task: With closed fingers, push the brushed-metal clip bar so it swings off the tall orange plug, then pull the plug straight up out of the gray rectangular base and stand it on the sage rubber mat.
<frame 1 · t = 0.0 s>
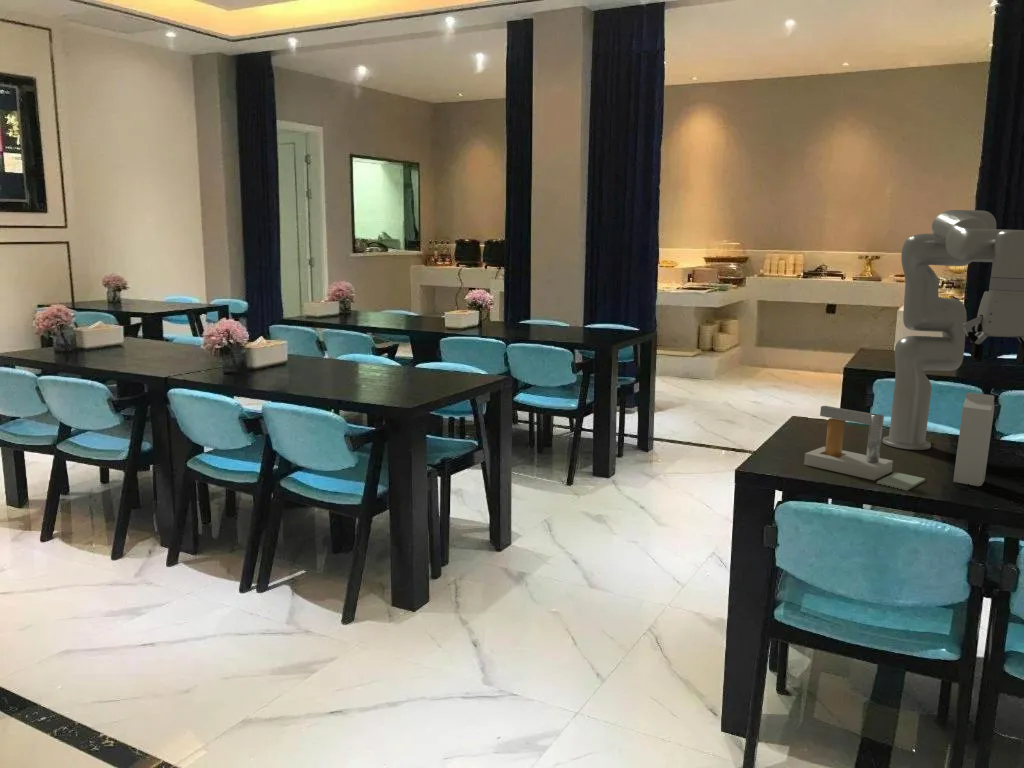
hand: (998, 361, 183), 31 cm above the table, tool pointing down, fingers open, 9 cm apart
mat: (900, 482, 196), on the table
gray rectangular base: (847, 468, 207), on the table
plug: (832, 464, 210), resting in gray rectangular base
clip: (849, 433, 206), point 9 cm above the table, hinge at 0.0°
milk: (968, 482, 198), on the table
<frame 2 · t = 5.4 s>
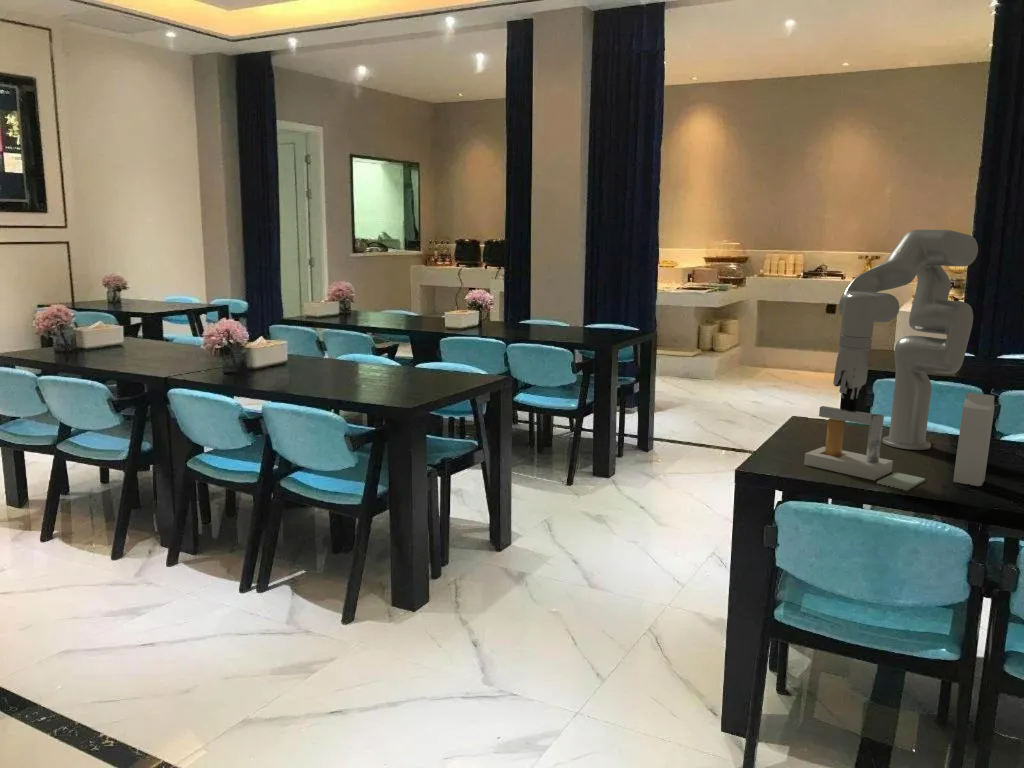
hand: (848, 413, 208), 14 cm above the table, tool pointing down, fingers closed
clip: (849, 433, 206), point 9 cm above the table, hinge at 3.4°, touching gripper
everything else where it was.
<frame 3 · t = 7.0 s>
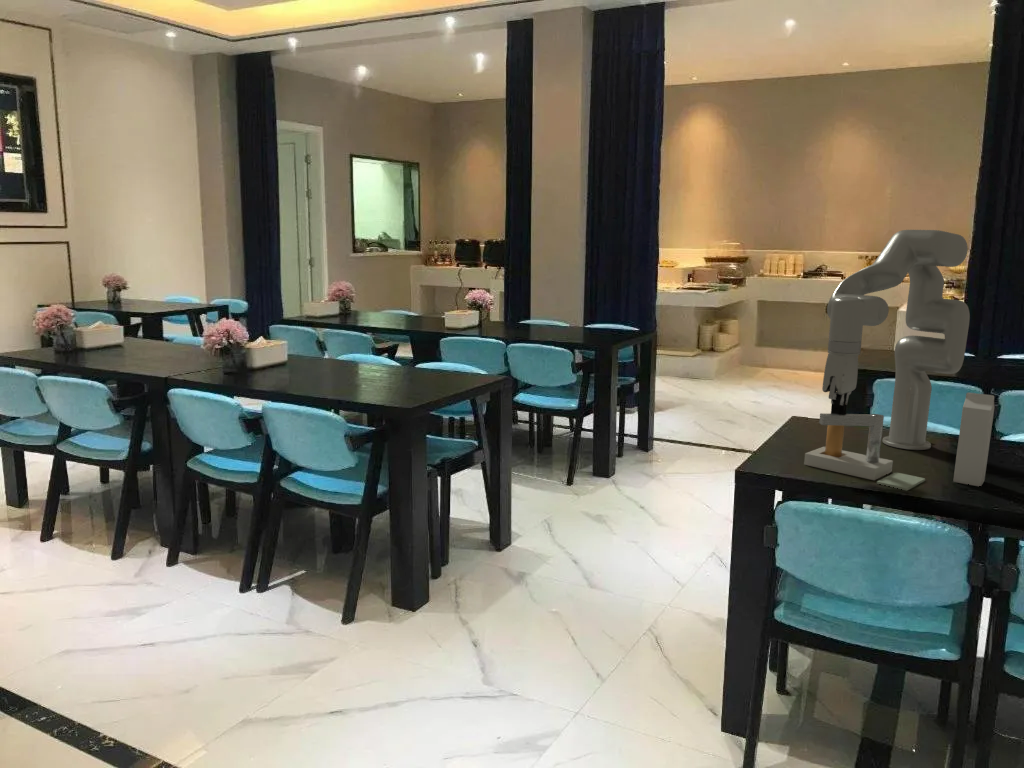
hand: (837, 419, 203), 13 cm above the table, tool pointing down, fingers closed
clip: (850, 437, 201), point 9 cm above the table, hinge at 47.0°, touching gripper
everything else where it was.
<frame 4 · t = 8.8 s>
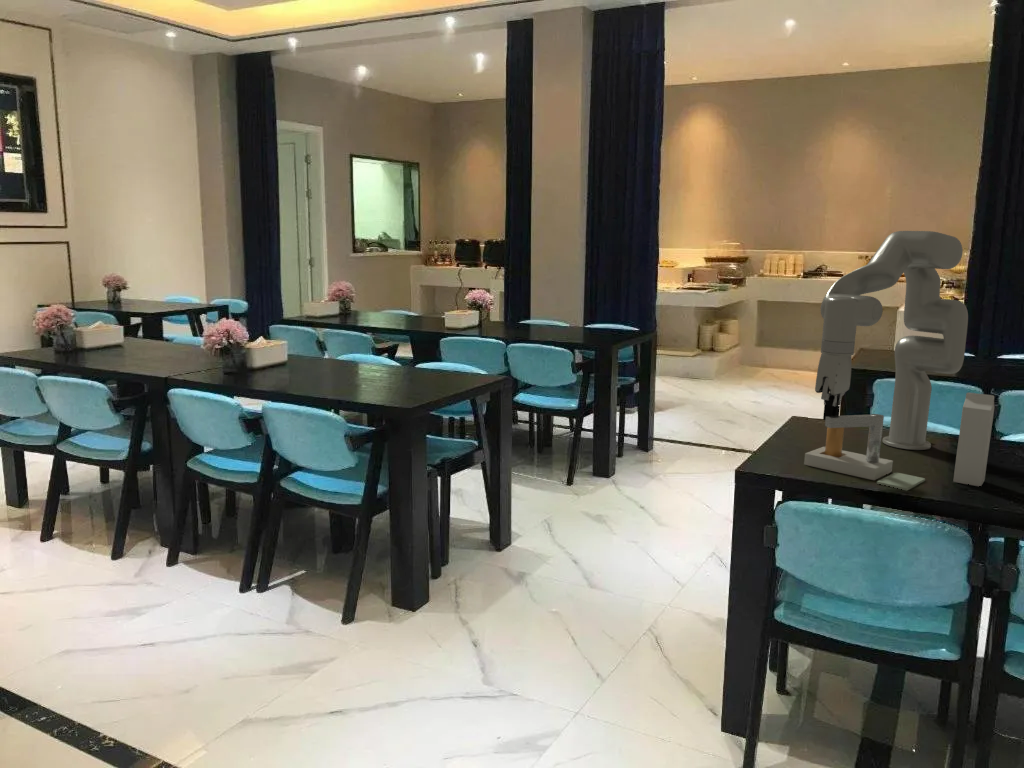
hand: (830, 420, 201), 13 cm above the table, tool pointing down, fingers closed
clip: (853, 439, 200), point 9 cm above the table, hinge at 59.8°, touching gripper
everything else where it was.
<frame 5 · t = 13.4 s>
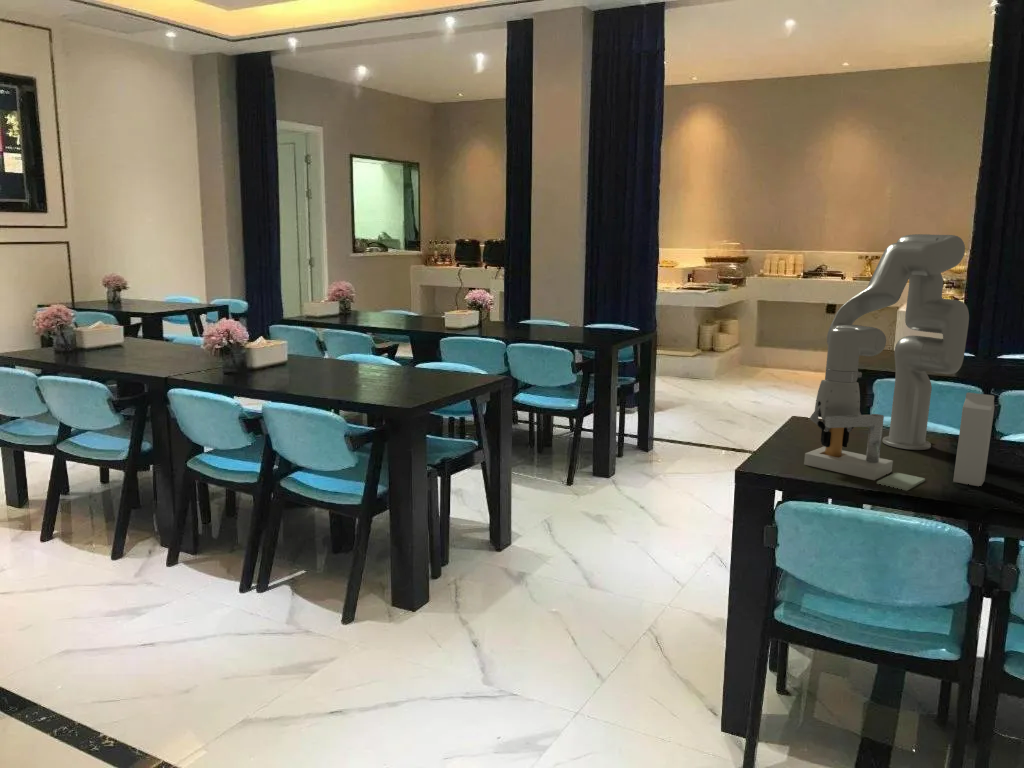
hand: (834, 445, 209), 5 cm above the table, tool pointing down, fingers closed on plug, 4 cm apart
plug: (832, 464, 210), resting in gray rectangular base, touching gripper
clip: (853, 439, 200), point 9 cm above the table, hinge at 59.9°
everything else where it was.
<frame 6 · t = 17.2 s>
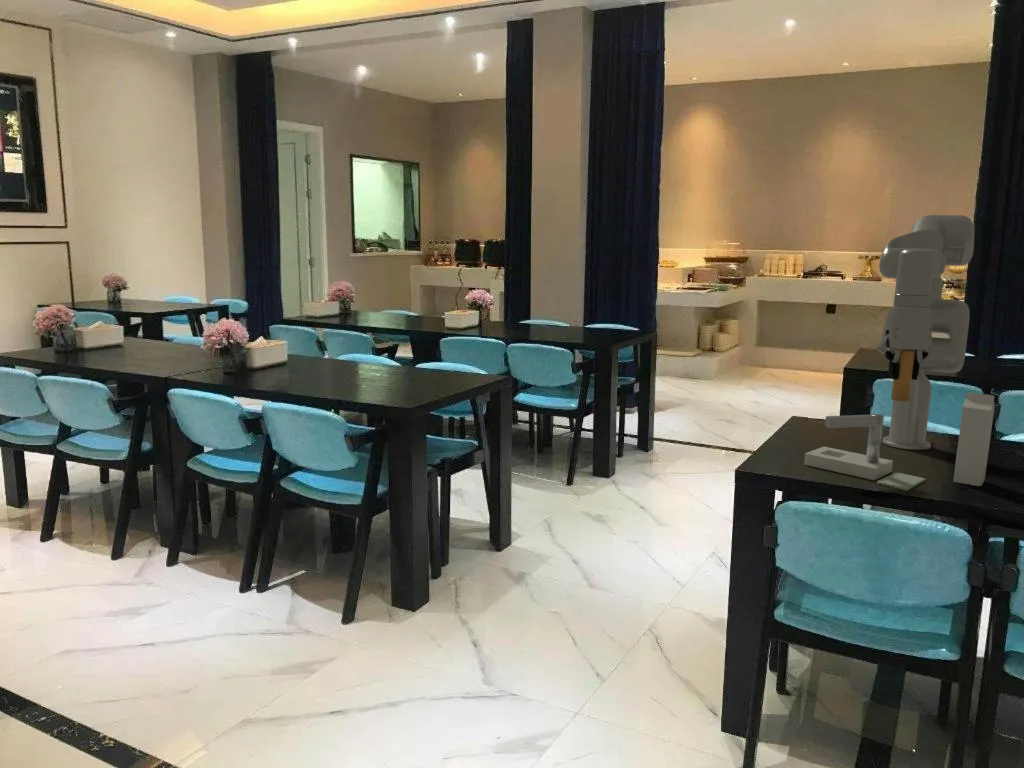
hand: (902, 377, 193), 25 cm above the table, tool pointing down, fingers closed on plug, 4 cm apart
plug: (900, 399, 194), point 20 cm above the table, touching gripper
everything else where it was.
when the fingers open (7 cm above the table, at t = 21.2 s): plug drops 1 cm, resting on mat.
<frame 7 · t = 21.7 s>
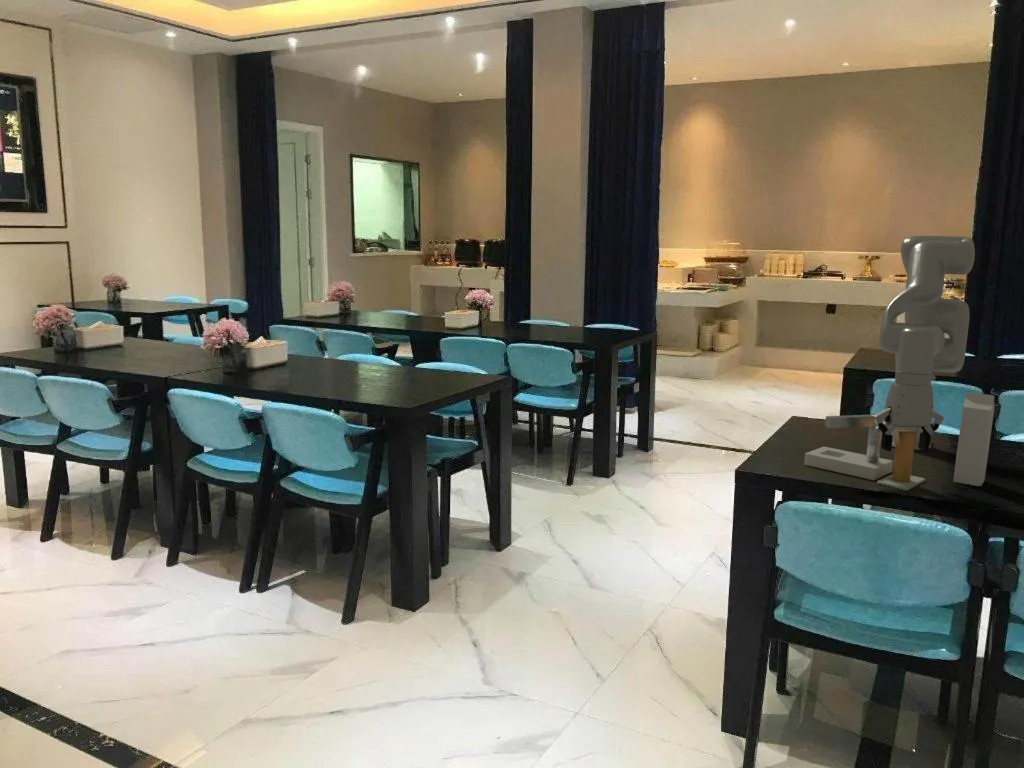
hand: (904, 449, 195), 8 cm above the table, tool pointing down, fingers open, 9 cm apart
plug: (901, 479, 196), point 1 cm above the table, touching mat
everything else where it was.
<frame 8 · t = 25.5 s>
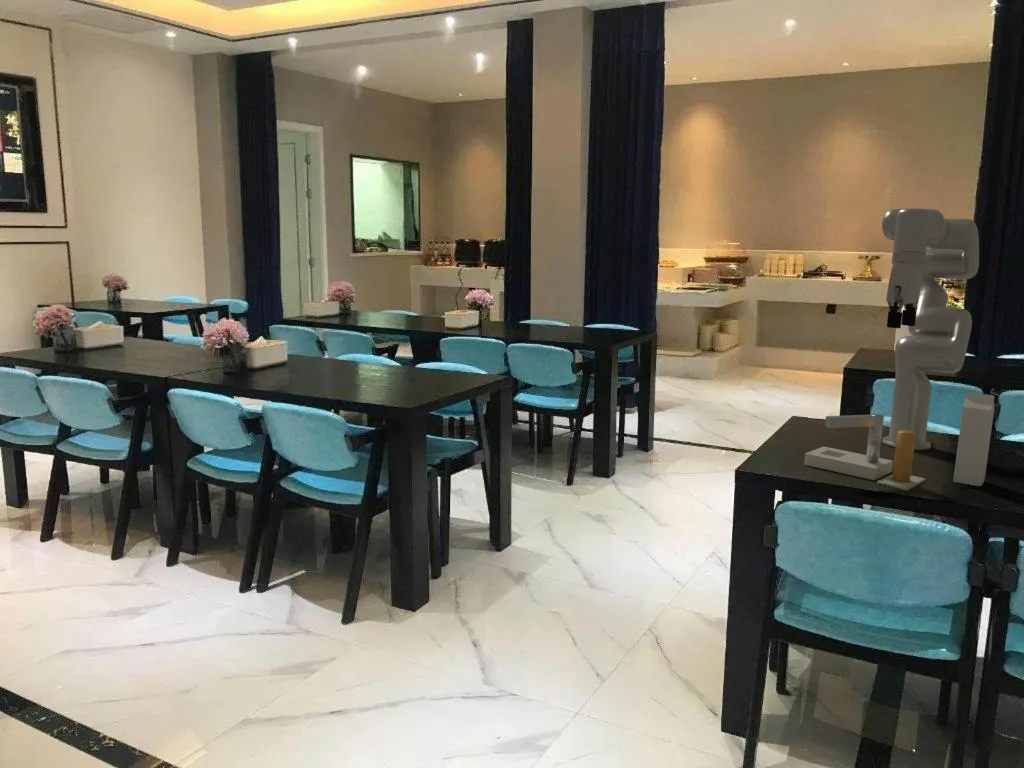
hand: (900, 326, 206), 36 cm above the table, tool pointing down, fingers open, 9 cm apart
nothing on the table moved.
at the end: clip at +60° (first picture: +0°); plug 0.0 cm off-centre on the mat, point 0.6 cm above the mat's base; plug tilted 0° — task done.
